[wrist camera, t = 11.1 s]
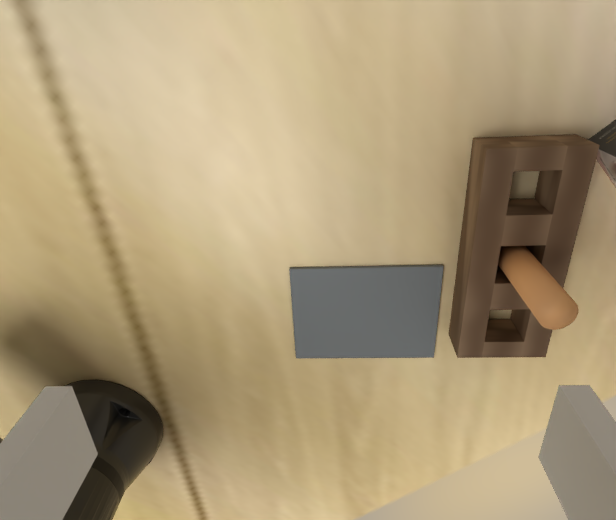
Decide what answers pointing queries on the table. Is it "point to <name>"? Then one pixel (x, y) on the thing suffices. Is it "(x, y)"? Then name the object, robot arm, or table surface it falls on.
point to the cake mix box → (607, 150)
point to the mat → (366, 311)
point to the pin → (537, 288)
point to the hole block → (515, 237)
